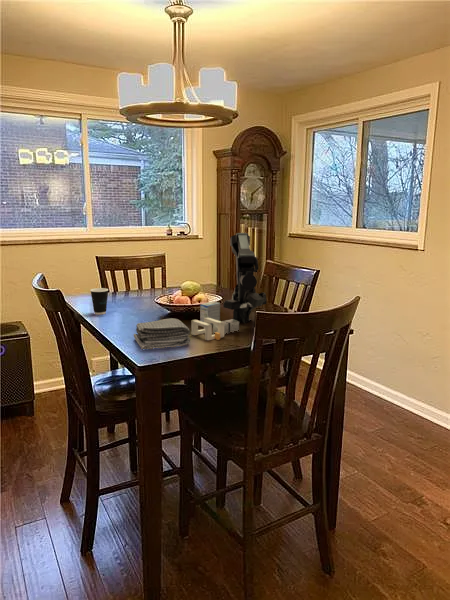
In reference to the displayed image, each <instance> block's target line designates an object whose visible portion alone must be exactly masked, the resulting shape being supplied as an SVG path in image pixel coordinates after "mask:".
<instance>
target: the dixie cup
mask: <svg viewBox="0 0 450 600" xmlns="http://www.w3.org/2000/svg"><path fill="white" fill-rule="evenodd" d="M89 291H90V295H91V302H92V308H93V312H94V315H99V316H101V315H102V316H103V315H106V312H107V305H108V291H109V288H105V287H101V288H100V287H97V288H91V289H89Z"/></svg>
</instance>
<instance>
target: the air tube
mask: <svg viewBox="0 0 450 600" xmlns="http://www.w3.org/2000/svg"><path fill="white" fill-rule="evenodd" d="M220 321H221V320H220ZM221 322H224V335H227V334H231V333H230V332H232V333H235V332H234V331H237V332H239V331H240V322H239V321H237V320H233V318H231V319H226V320H222V321H221ZM238 330H239V331H238ZM215 332H218V325H216V324H213V325H212V333H213V334H214V333H215ZM226 333H227V334H226Z"/></svg>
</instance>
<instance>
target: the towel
mask: <svg viewBox="0 0 450 600" xmlns="http://www.w3.org/2000/svg"><path fill="white" fill-rule="evenodd" d="M135 331H136V333H134V334H133V338H134V339H135V342H136V343H137V345H138V346H139V347H140V349H141V350H142V349H150V350H154V349H153V348H160V349H168V348H167V347H171V348H177V347H176V346H181V347H183V346H187V345H189V344H190V343H191V338H190V337H189V336H190V334H191V330H190V328H189V327H188V326H187V325H186V324H185V323H184V322H182V321H181V320H180V319H178V318H172V317H171V318H163V319H159V320H155V321H148V322H147V321H146V322H138V323H137V324H136V327H135ZM165 347H166V348H165Z"/></svg>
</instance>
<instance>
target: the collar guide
mask: <svg viewBox="0 0 450 600" xmlns="http://www.w3.org/2000/svg"><path fill="white" fill-rule="evenodd" d="M210 323H213V324H216V325H218V332H215V334H214V333H213V325H211V324H210ZM190 324H191V325H190V326H191V328H190V329H191V335H192V336H197V335H203V334H204V340H205V341H211V340H217V341H220V340H221V339H222V338H225V334H224V322H221V320H220V321H218V320H215V319H212V318H209V317H207V318H204V322H202V321H200V320H198V319H192V320H191V323H190ZM199 327H202V328H203V329H199ZM212 333H213V334H212Z"/></svg>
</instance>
